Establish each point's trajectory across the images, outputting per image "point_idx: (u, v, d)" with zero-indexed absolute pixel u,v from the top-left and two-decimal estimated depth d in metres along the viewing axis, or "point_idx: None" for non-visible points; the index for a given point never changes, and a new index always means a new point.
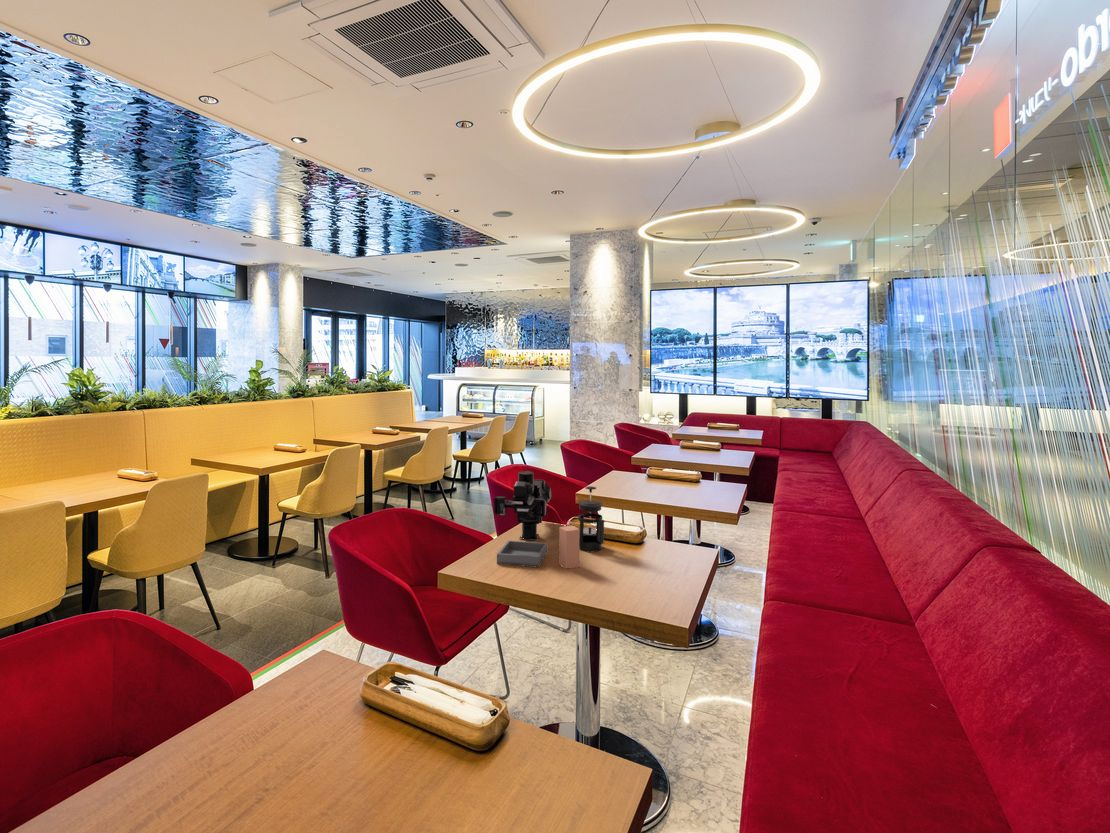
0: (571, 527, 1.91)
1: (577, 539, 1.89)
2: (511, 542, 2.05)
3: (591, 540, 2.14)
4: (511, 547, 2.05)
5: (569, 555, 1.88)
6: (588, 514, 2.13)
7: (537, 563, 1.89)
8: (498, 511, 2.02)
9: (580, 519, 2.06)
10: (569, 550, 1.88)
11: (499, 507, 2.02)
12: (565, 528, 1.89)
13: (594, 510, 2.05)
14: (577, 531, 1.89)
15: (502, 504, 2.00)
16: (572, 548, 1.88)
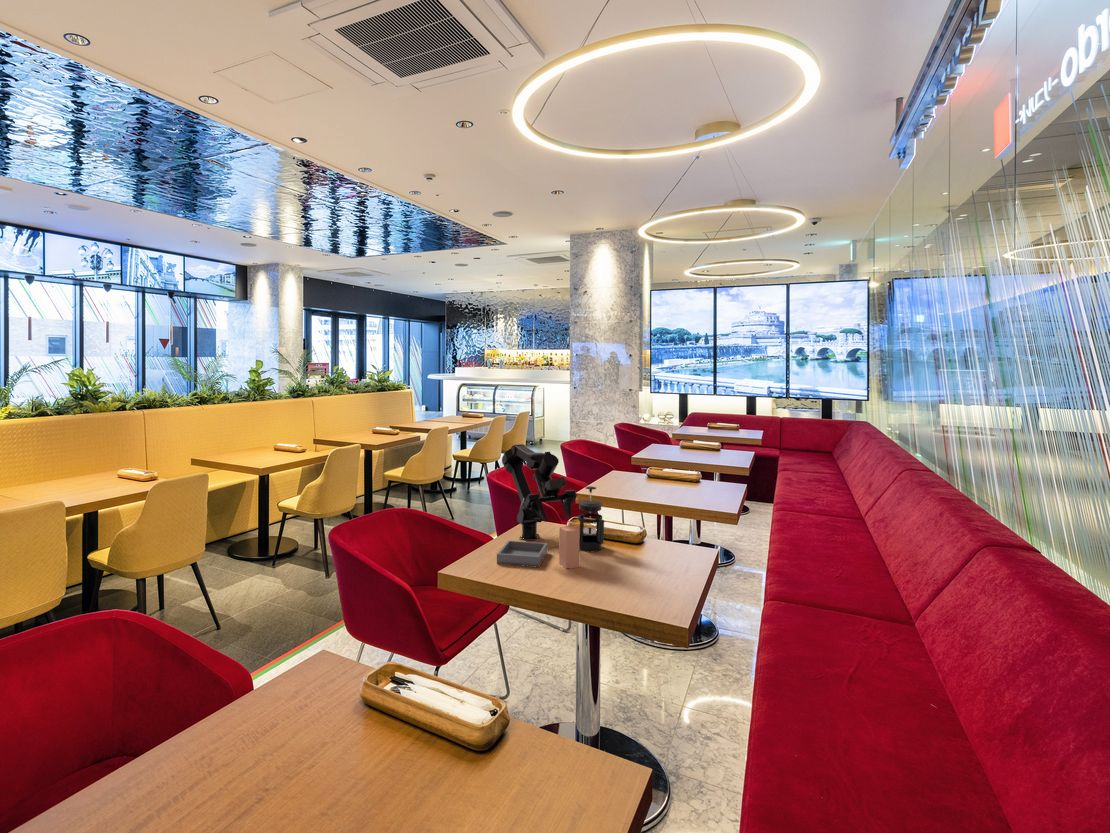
0: (571, 527, 1.91)
1: (577, 539, 1.89)
2: (511, 542, 2.05)
3: (591, 540, 2.14)
4: (511, 547, 2.05)
5: (569, 555, 1.88)
6: (588, 514, 2.13)
7: (537, 563, 1.89)
8: (531, 508, 1.99)
9: (580, 519, 2.06)
10: (569, 550, 1.88)
11: (534, 506, 1.98)
12: (565, 528, 1.89)
13: (594, 510, 2.05)
14: (577, 531, 1.89)
15: (540, 507, 1.96)
16: (572, 548, 1.88)
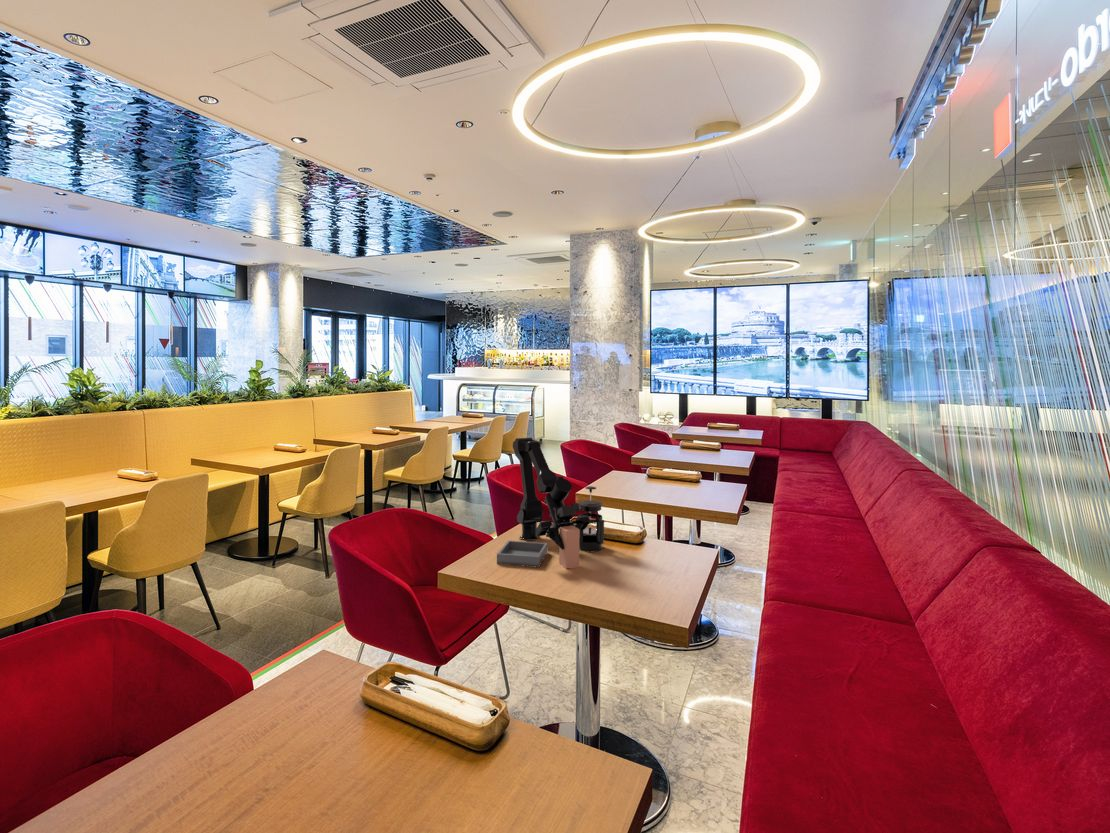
0: (571, 527, 1.91)
1: (577, 539, 1.89)
2: (511, 542, 2.05)
3: (591, 540, 2.14)
4: (511, 547, 2.05)
5: (569, 554, 1.88)
6: (588, 514, 2.13)
7: (537, 563, 1.89)
8: (548, 535, 1.92)
9: None
10: (569, 550, 1.88)
11: (550, 533, 1.91)
12: (565, 528, 1.89)
13: (594, 510, 2.05)
14: (577, 531, 1.89)
15: (558, 534, 1.89)
16: (572, 548, 1.88)
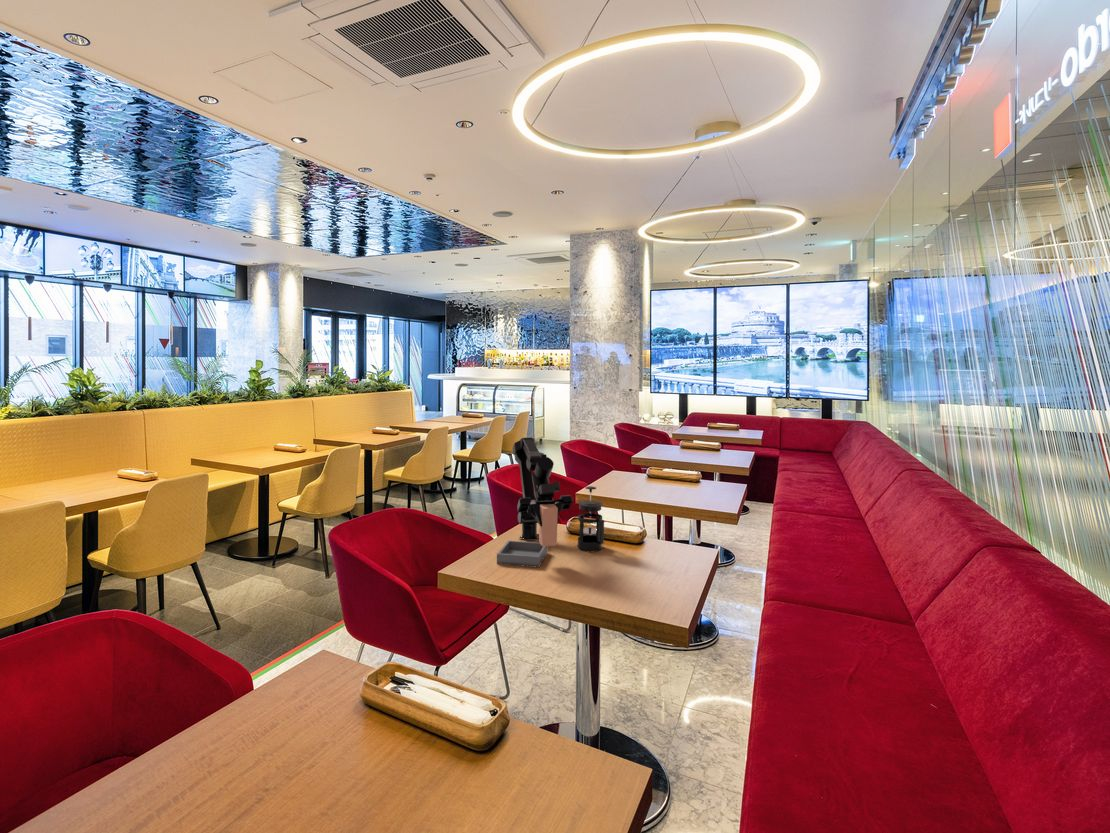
0: (551, 505, 1.92)
1: (555, 518, 1.89)
2: (511, 542, 2.05)
3: (591, 540, 2.14)
4: (511, 547, 2.05)
5: (546, 532, 1.89)
6: (588, 514, 2.13)
7: (537, 563, 1.89)
8: (529, 512, 1.94)
9: (580, 519, 2.06)
10: (546, 528, 1.89)
11: (531, 509, 1.93)
12: (544, 506, 1.90)
13: (594, 510, 2.05)
14: (555, 510, 1.89)
15: (537, 511, 1.91)
16: (549, 526, 1.89)
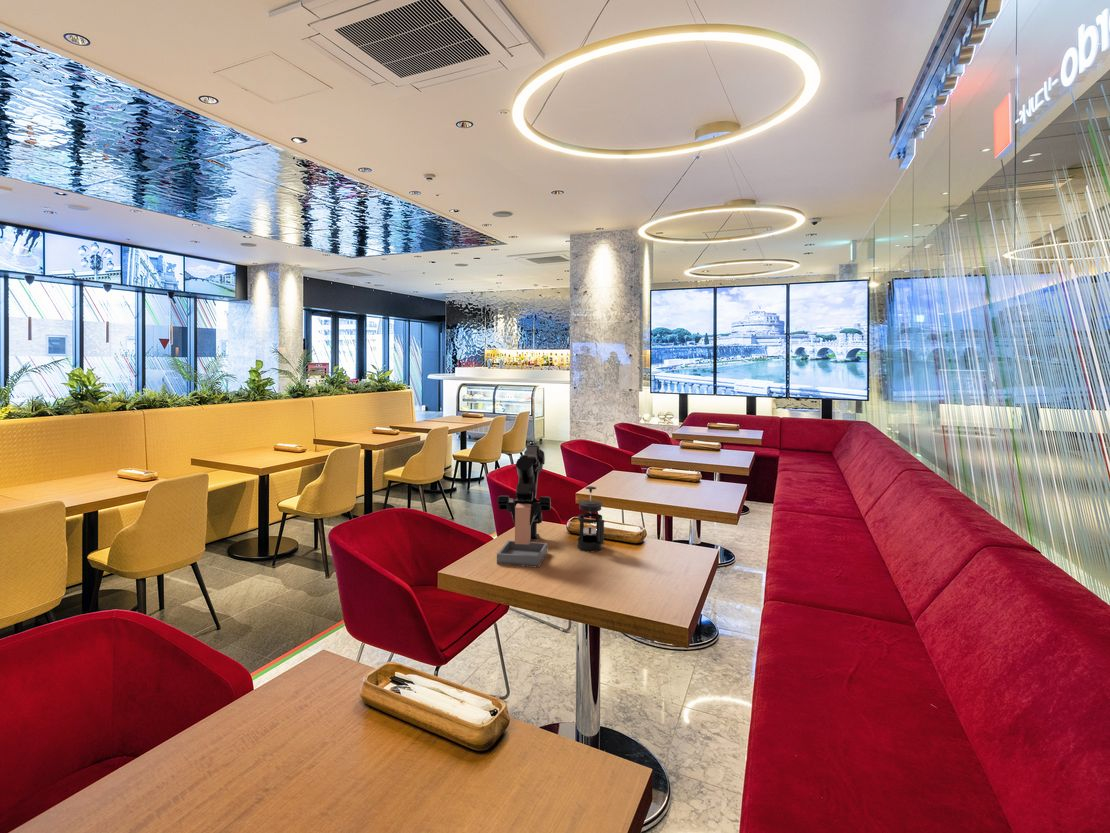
0: (526, 505, 1.96)
1: (527, 517, 1.94)
2: (511, 542, 2.05)
3: (591, 540, 2.14)
4: (511, 547, 2.05)
5: (518, 531, 1.94)
6: (588, 514, 2.13)
7: (537, 563, 1.89)
8: (508, 510, 2.01)
9: (580, 519, 2.06)
10: (518, 527, 1.94)
11: (509, 508, 2.00)
12: (519, 505, 1.96)
13: (594, 510, 2.05)
14: (527, 509, 1.93)
15: (513, 509, 1.97)
16: (521, 525, 1.94)
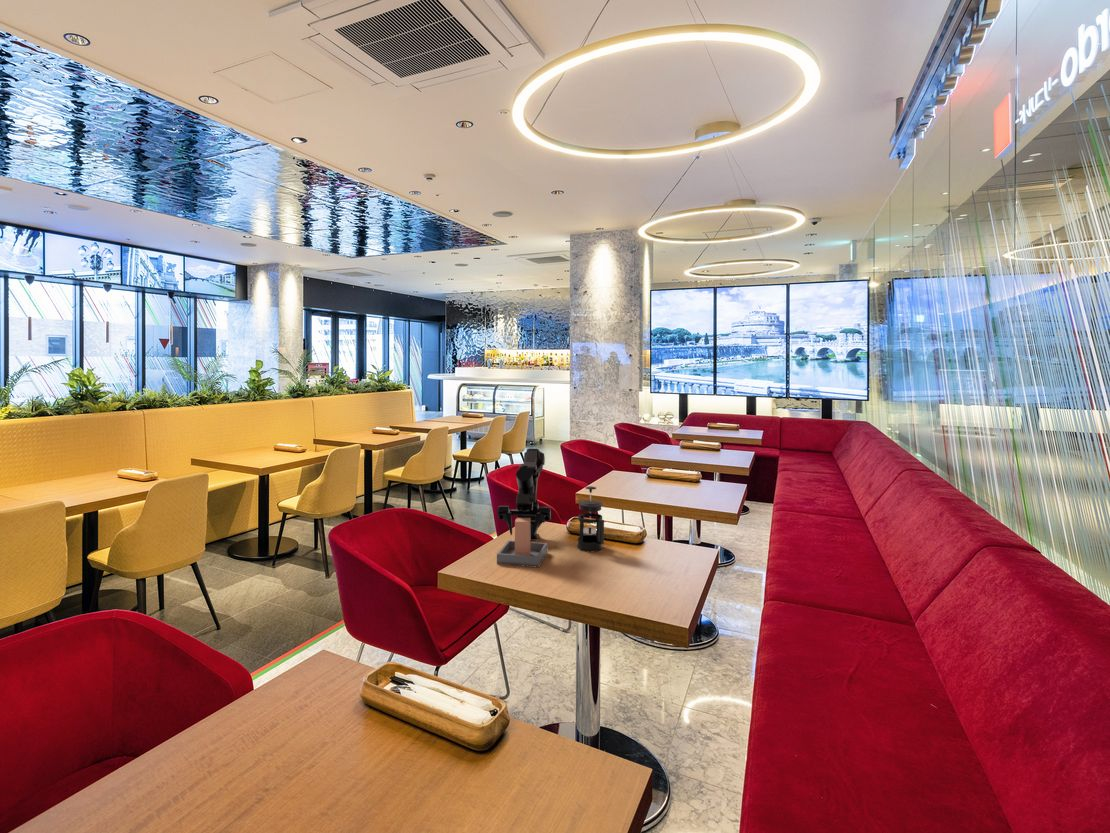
0: (525, 519, 1.97)
1: (527, 531, 1.94)
2: (511, 542, 2.05)
3: (591, 540, 2.14)
4: (511, 547, 2.05)
5: (518, 545, 1.95)
6: (588, 514, 2.13)
7: (537, 563, 1.89)
8: (504, 520, 2.01)
9: (580, 519, 2.06)
10: (518, 541, 1.95)
11: (505, 518, 2.00)
12: (518, 519, 1.97)
13: (594, 510, 2.05)
14: (527, 523, 1.94)
15: (509, 520, 1.98)
16: (521, 539, 1.95)
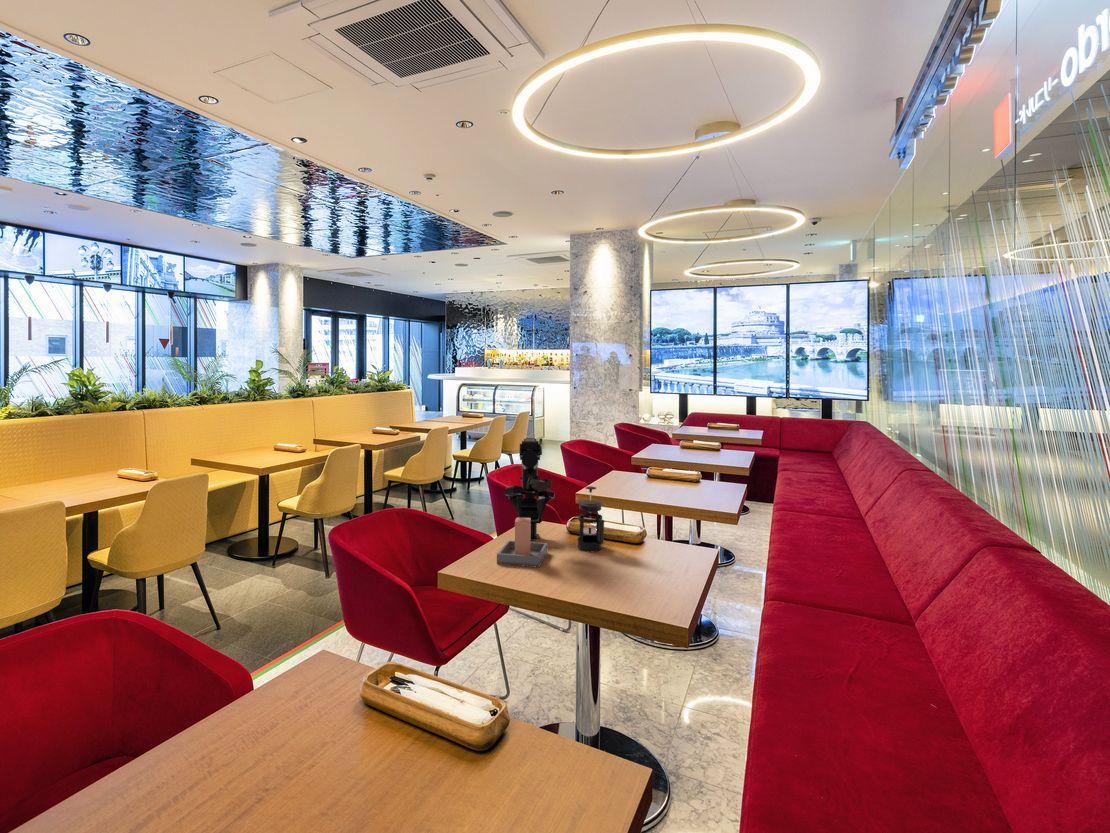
0: (525, 519, 1.97)
1: (527, 531, 1.94)
2: (511, 542, 2.05)
3: (591, 540, 2.14)
4: (511, 547, 2.05)
5: (518, 545, 1.95)
6: (588, 514, 2.13)
7: (537, 563, 1.89)
8: (509, 497, 2.00)
9: (580, 519, 2.06)
10: (518, 541, 1.95)
11: (513, 497, 1.99)
12: (518, 519, 1.97)
13: (594, 510, 2.05)
14: (527, 523, 1.94)
15: (519, 501, 1.99)
16: (521, 539, 1.95)
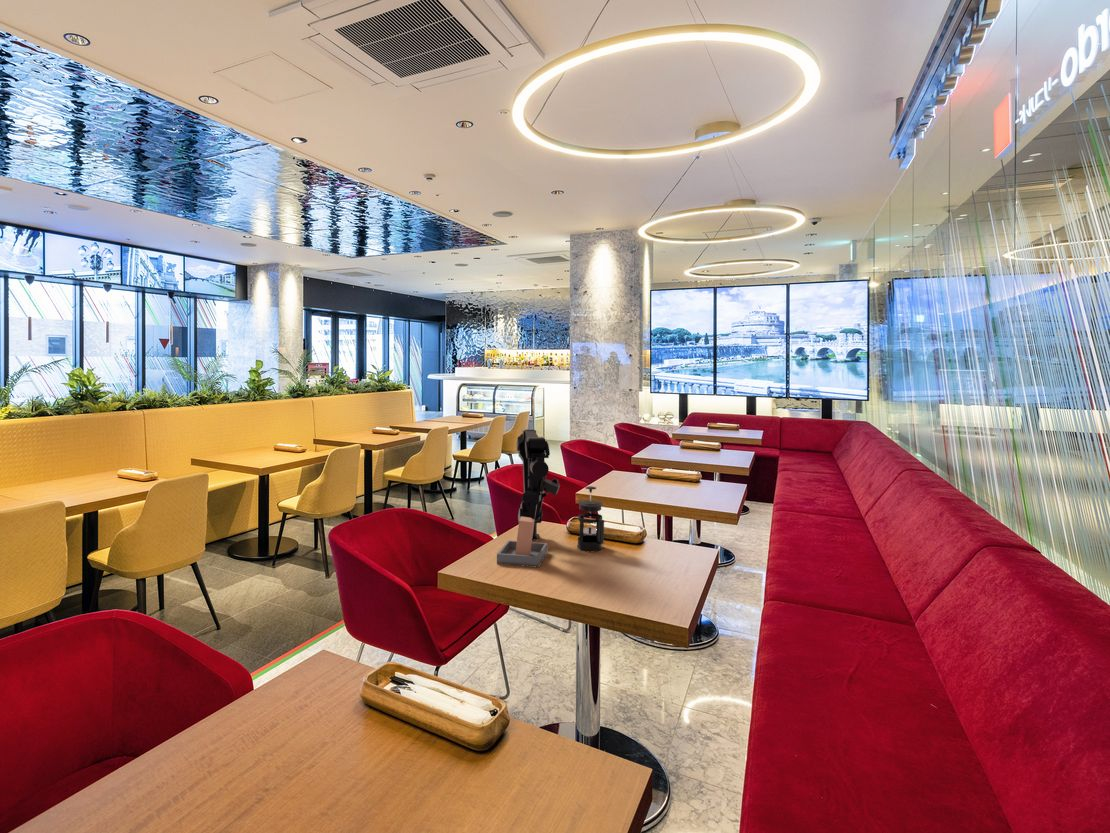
0: (530, 519, 1.97)
1: (530, 531, 1.94)
2: (511, 542, 2.05)
3: (591, 540, 2.14)
4: (511, 547, 2.05)
5: (520, 544, 1.95)
6: (588, 514, 2.13)
7: (537, 563, 1.89)
8: None
9: (580, 519, 2.06)
10: (520, 540, 1.95)
11: None
12: (523, 518, 1.96)
13: (594, 510, 2.05)
14: (531, 523, 1.94)
15: (536, 506, 1.97)
16: (523, 539, 1.95)
